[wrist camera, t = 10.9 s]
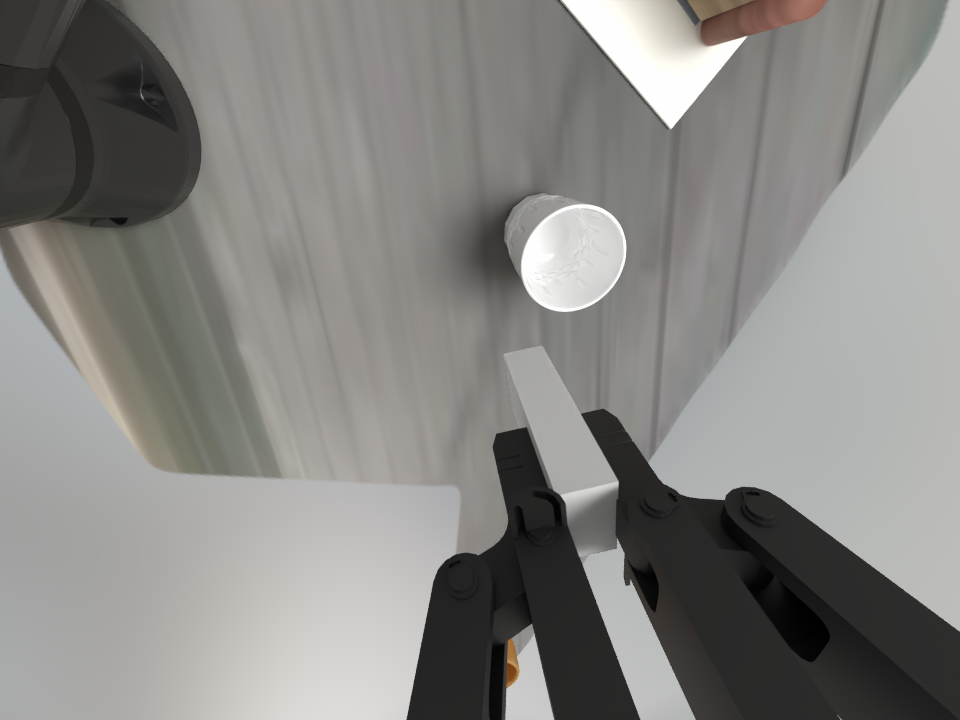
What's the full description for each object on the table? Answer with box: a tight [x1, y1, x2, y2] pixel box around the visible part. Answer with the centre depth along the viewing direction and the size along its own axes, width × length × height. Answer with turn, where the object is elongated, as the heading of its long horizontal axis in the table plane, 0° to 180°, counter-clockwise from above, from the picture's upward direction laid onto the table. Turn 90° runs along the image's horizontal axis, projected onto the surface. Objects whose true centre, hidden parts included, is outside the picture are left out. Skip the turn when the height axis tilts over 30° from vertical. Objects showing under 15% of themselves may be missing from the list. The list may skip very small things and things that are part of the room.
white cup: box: [504, 193, 626, 312], centre depth 32 cm, size 8×8×10 cm
